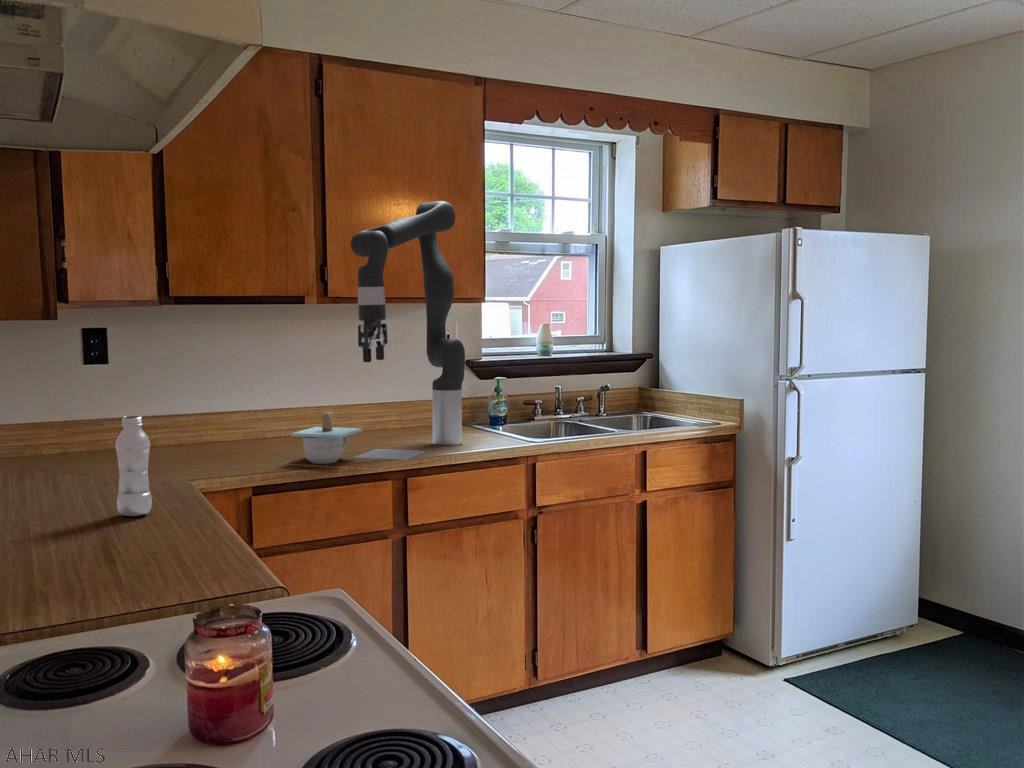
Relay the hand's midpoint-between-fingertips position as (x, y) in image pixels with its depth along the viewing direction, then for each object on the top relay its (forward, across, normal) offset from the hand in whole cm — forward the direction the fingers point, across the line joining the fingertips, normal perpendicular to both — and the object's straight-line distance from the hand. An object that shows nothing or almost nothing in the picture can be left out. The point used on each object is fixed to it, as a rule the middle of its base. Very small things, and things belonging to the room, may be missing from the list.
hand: (374, 361), depth 239 cm
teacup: (+27, -11, +10) cm, 31 cm away
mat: (+28, +4, -2) cm, 28 cm away
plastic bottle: (+25, -79, +17) cm, 85 cm away
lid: (+19, -11, +10) cm, 24 cm away
